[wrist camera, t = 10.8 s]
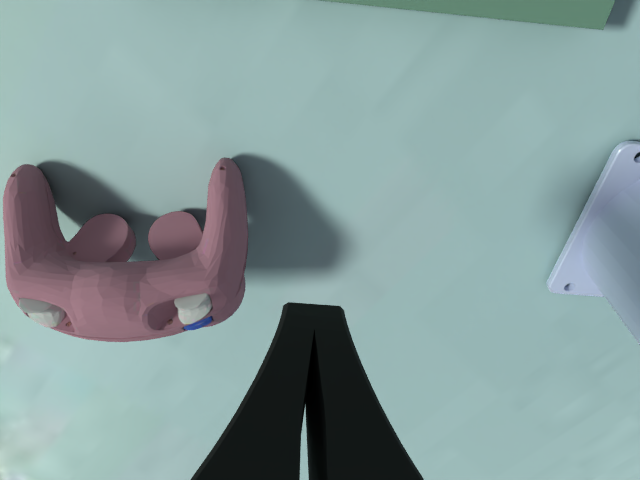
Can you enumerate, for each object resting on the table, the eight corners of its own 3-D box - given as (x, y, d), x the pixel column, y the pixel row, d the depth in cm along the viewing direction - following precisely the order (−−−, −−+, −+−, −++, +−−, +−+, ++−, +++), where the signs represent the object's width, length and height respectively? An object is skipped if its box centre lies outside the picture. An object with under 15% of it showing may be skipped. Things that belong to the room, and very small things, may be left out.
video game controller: (63, 212, 23) (22, 352, 19) (3, 154, 19) (-61, 319, 15) (260, 206, 22) (252, 347, 19) (243, 146, 18) (229, 312, 15)
